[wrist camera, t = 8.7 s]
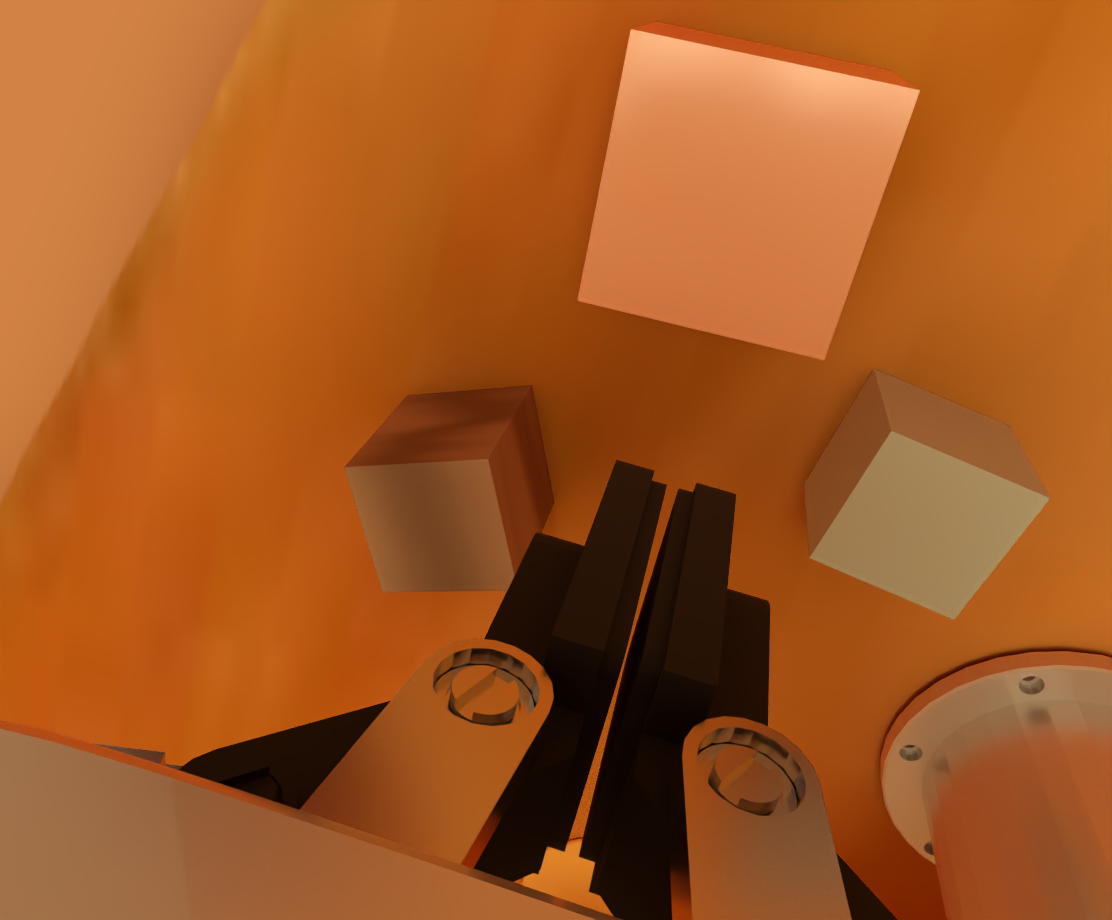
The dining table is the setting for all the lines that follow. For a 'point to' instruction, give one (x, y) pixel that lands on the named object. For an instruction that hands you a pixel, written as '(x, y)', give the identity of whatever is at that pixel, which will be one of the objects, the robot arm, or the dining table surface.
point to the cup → (567, 877)
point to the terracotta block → (741, 185)
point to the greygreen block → (919, 495)
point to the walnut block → (453, 490)
